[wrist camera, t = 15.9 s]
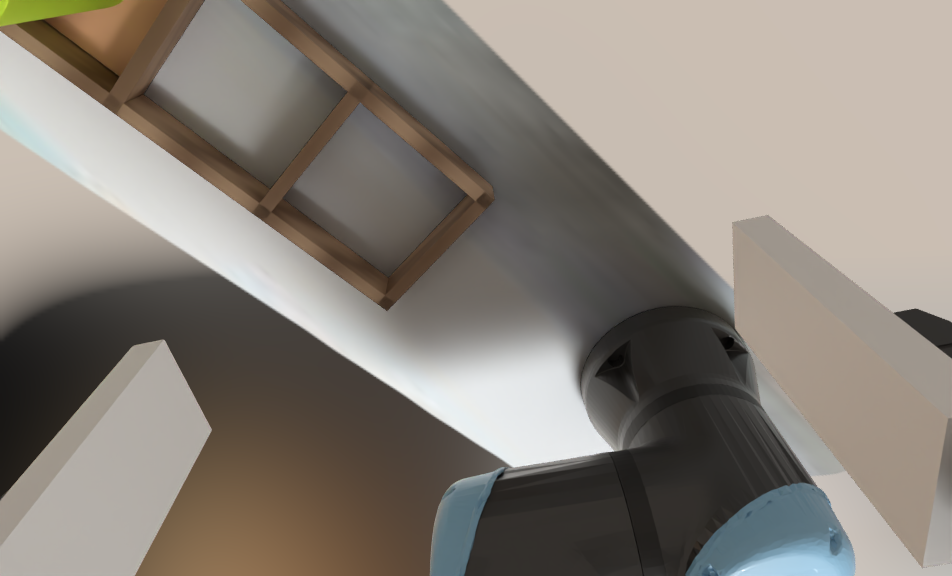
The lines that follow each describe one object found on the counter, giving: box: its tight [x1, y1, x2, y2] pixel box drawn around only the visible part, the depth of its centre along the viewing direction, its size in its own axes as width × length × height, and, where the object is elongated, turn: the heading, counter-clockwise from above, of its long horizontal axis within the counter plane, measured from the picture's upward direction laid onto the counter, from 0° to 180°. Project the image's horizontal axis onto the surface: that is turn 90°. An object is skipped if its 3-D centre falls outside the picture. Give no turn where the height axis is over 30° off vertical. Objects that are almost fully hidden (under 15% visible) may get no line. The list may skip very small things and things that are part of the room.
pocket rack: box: [0, 0, 495, 311], centre depth 42 cm, size 36×12×3 cm, turn 47°
